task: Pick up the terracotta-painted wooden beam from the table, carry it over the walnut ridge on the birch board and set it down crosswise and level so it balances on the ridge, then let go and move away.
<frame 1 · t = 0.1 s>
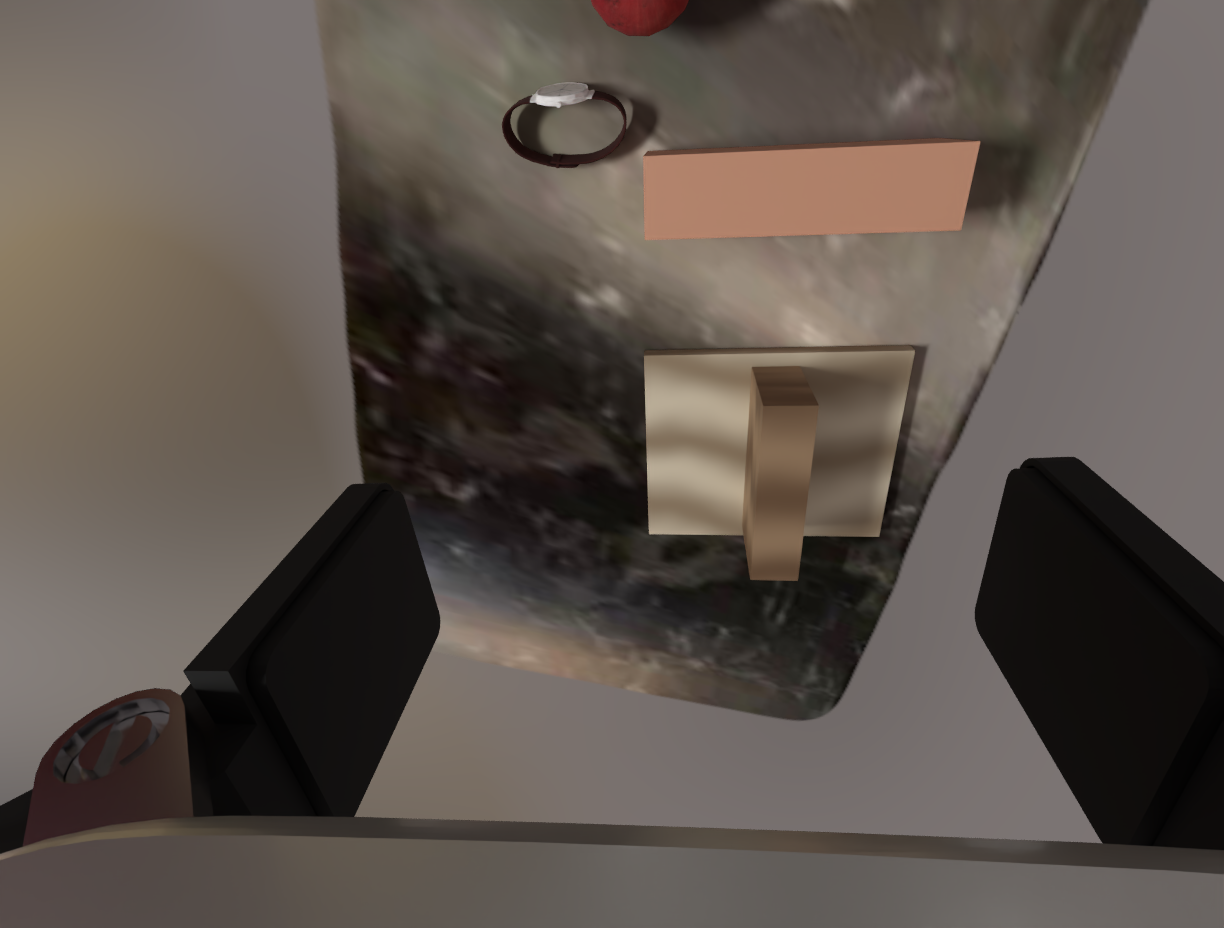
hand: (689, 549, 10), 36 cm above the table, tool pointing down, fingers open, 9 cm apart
beam: (786, 183, 40), on the table
stand: (766, 444, 49), on the table
watch: (569, 125, 40), on the table
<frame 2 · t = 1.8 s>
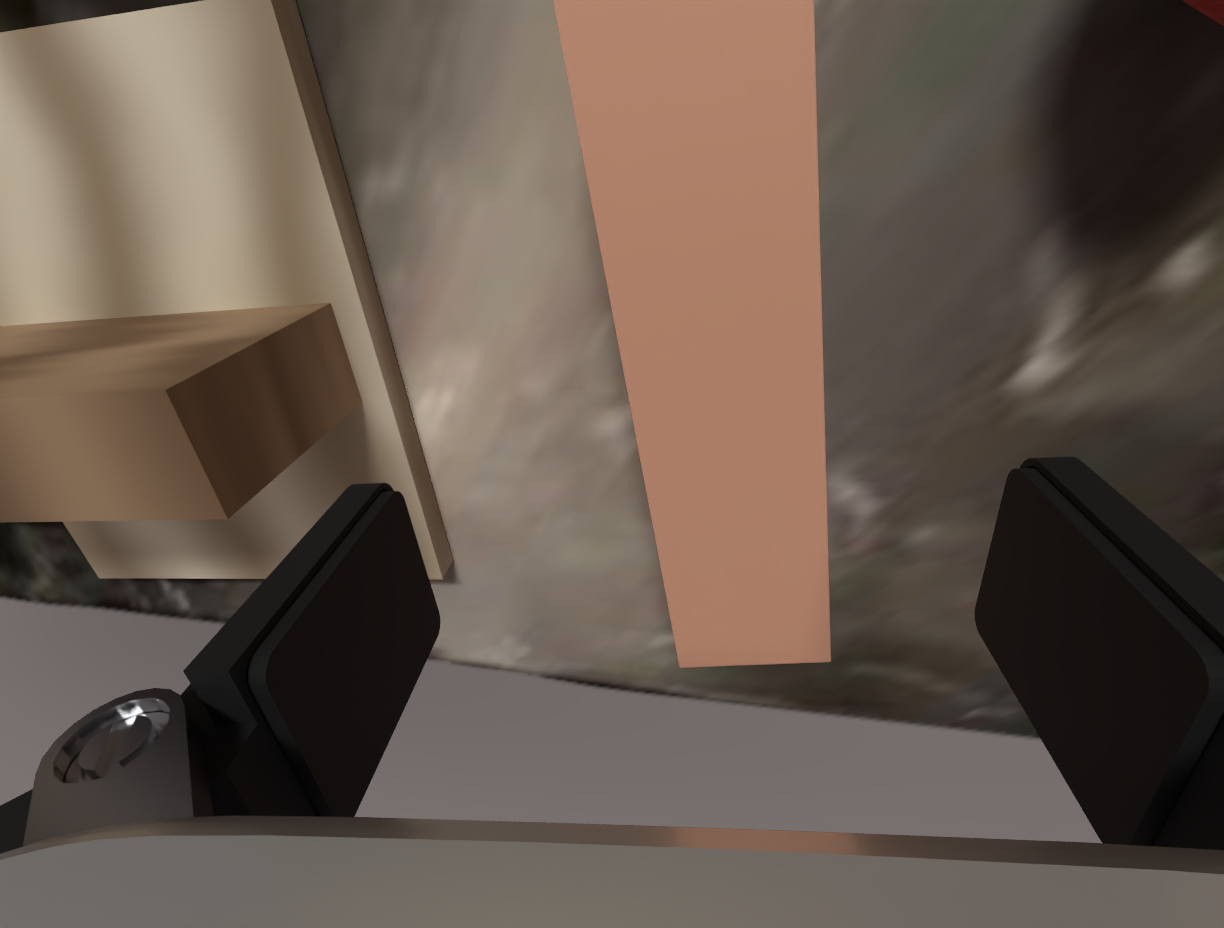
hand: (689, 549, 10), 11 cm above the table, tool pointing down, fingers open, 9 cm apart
beam: (717, 318, 20), on the table
stand: (185, 353, 22), on the table
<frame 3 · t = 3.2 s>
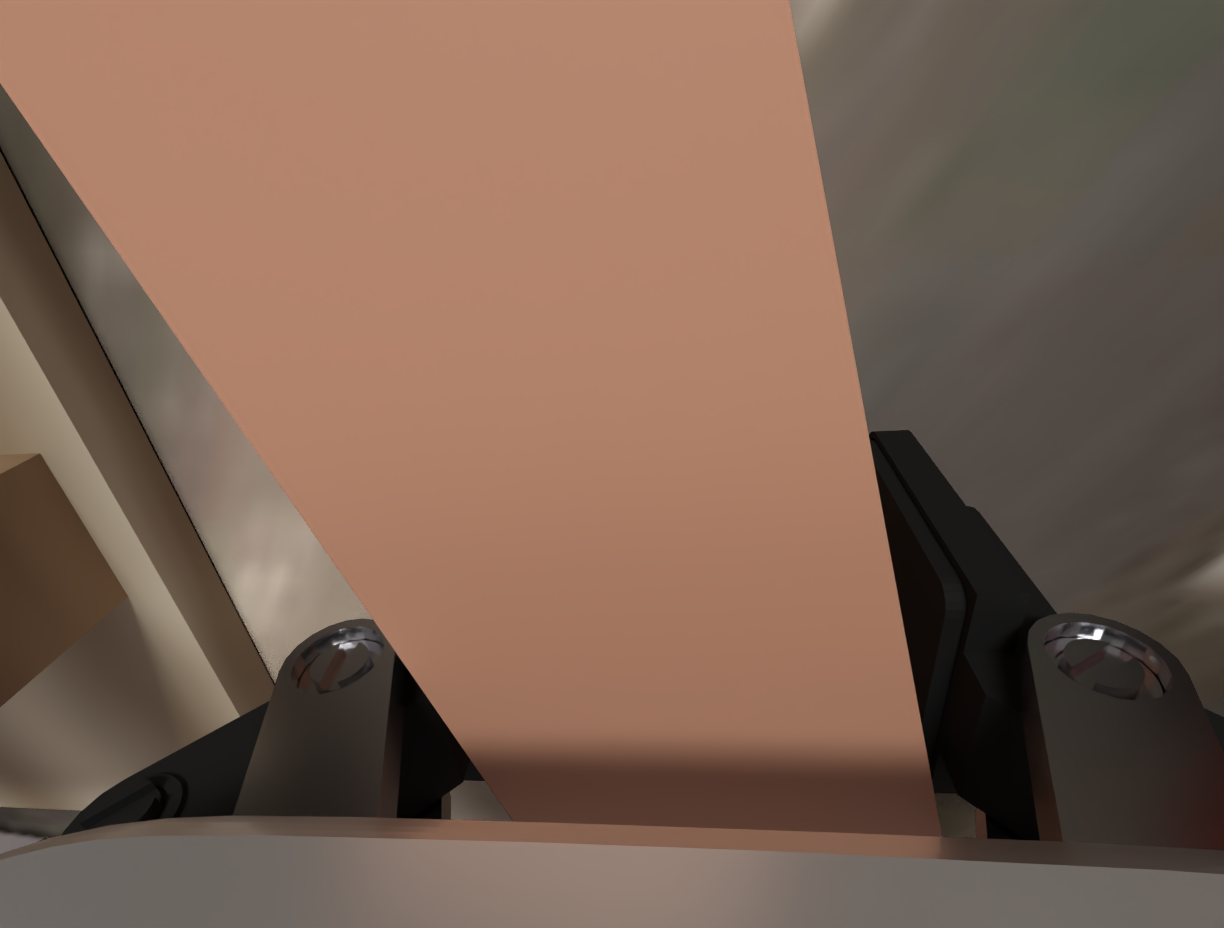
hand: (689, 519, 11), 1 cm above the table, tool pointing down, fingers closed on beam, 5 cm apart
beam: (687, 481, 12), on the table, touching gripper
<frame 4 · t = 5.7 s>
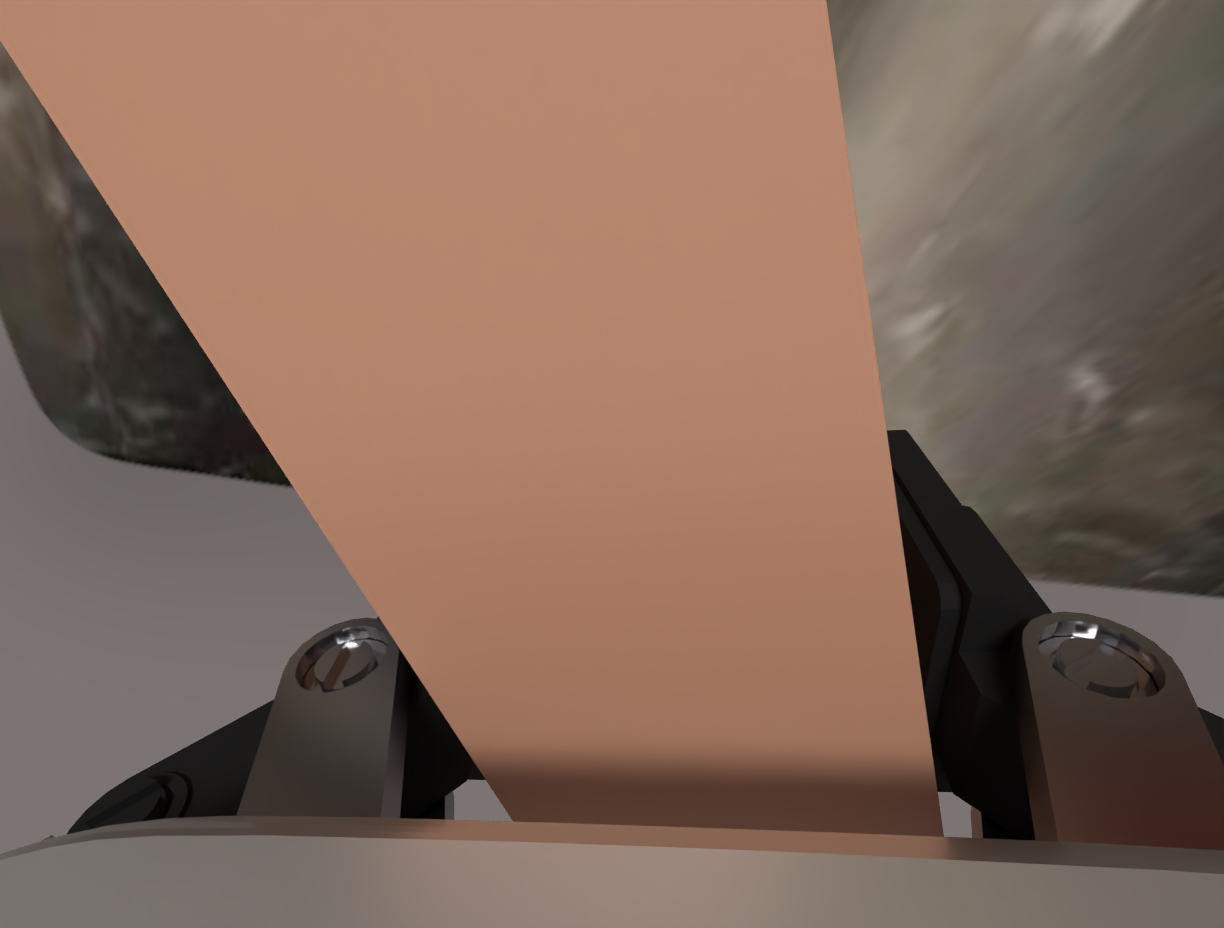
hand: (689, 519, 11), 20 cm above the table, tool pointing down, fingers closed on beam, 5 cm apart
beam: (689, 483, 12), point 19 cm above the table, touching gripper
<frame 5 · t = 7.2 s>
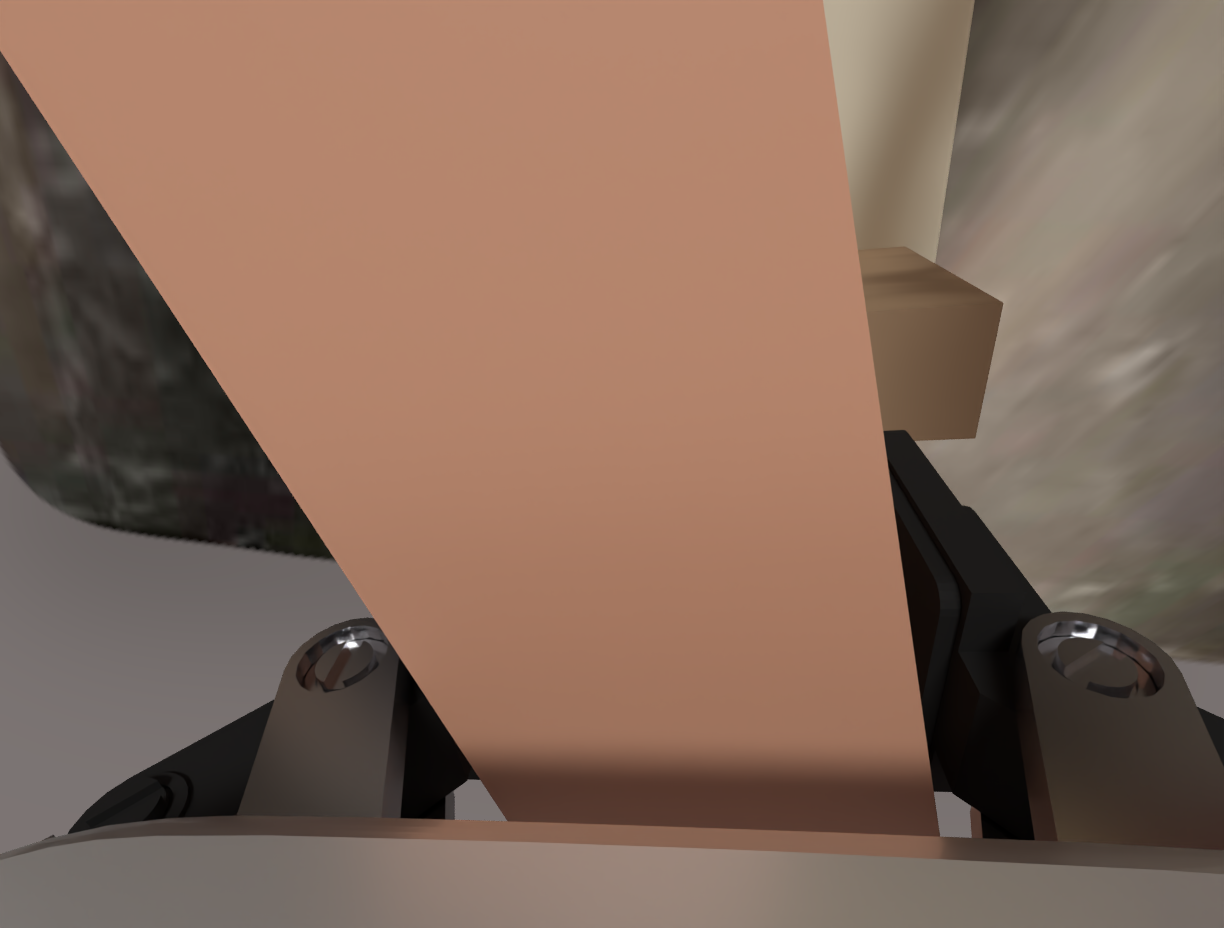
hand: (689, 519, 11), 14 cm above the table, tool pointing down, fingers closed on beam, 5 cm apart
beam: (687, 483, 12), point 13 cm above the table, touching gripper
stand: (688, 304, 23), on the table
when the fingers open (10 cm above the table, at t = 8.3 s): beam stays where it is, resting on stand.
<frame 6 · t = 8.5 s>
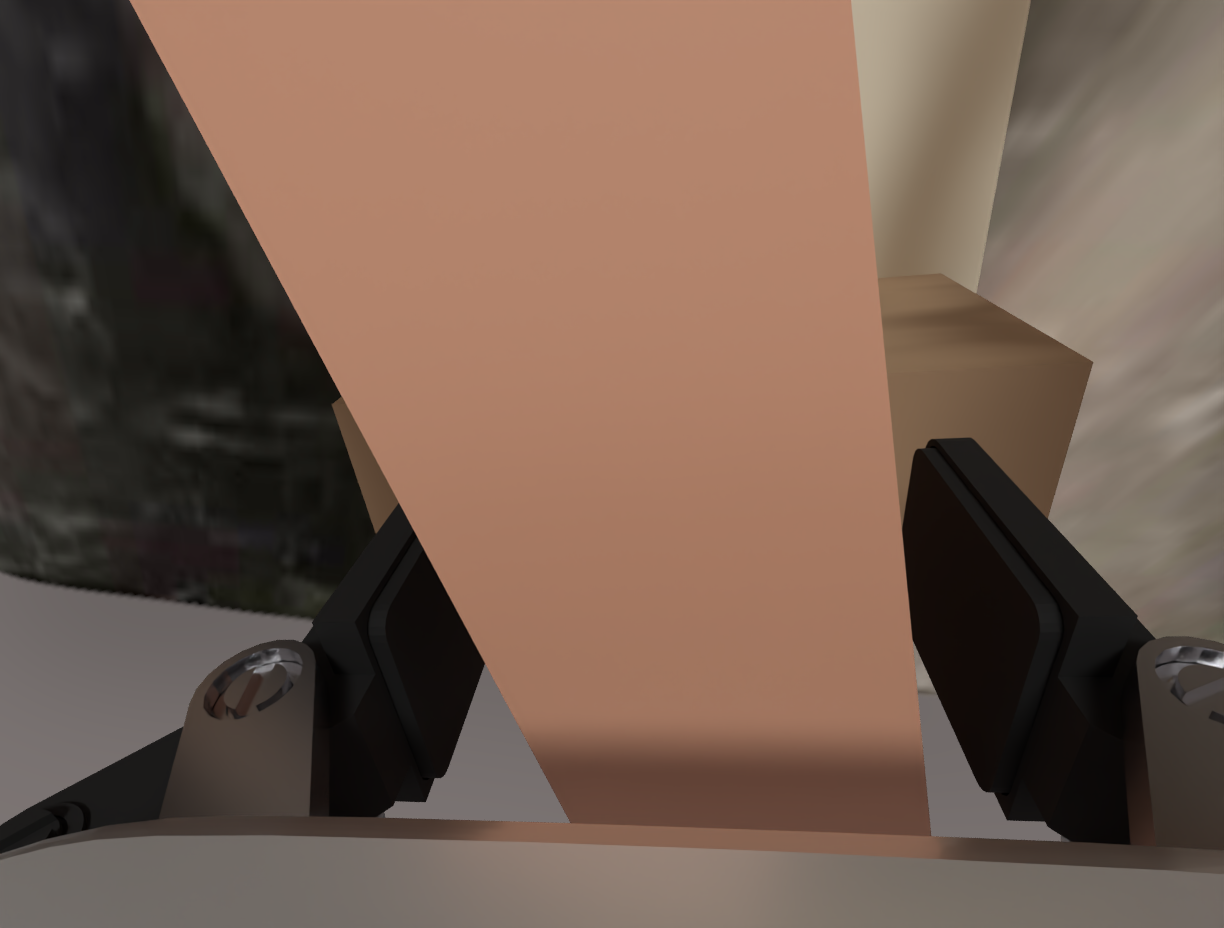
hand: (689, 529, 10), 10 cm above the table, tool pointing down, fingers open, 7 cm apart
beam: (694, 461, 12), point 8 cm above the table, touching stand
stand: (683, 337, 19), on the table
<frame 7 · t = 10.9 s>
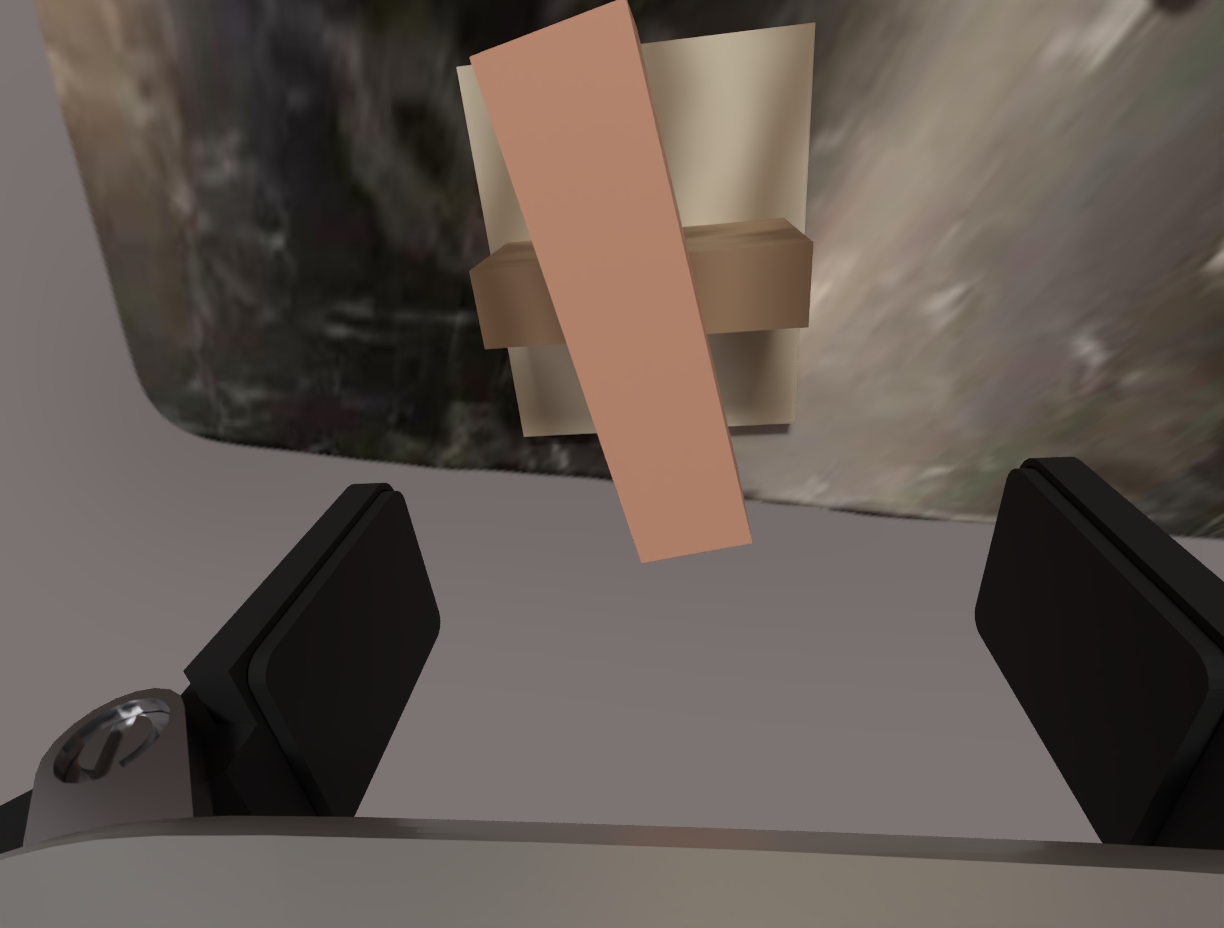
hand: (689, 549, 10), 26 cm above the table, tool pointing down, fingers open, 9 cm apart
beam: (642, 297, 26), point 8 cm above the table, touching stand
stand: (645, 260, 33), on the table
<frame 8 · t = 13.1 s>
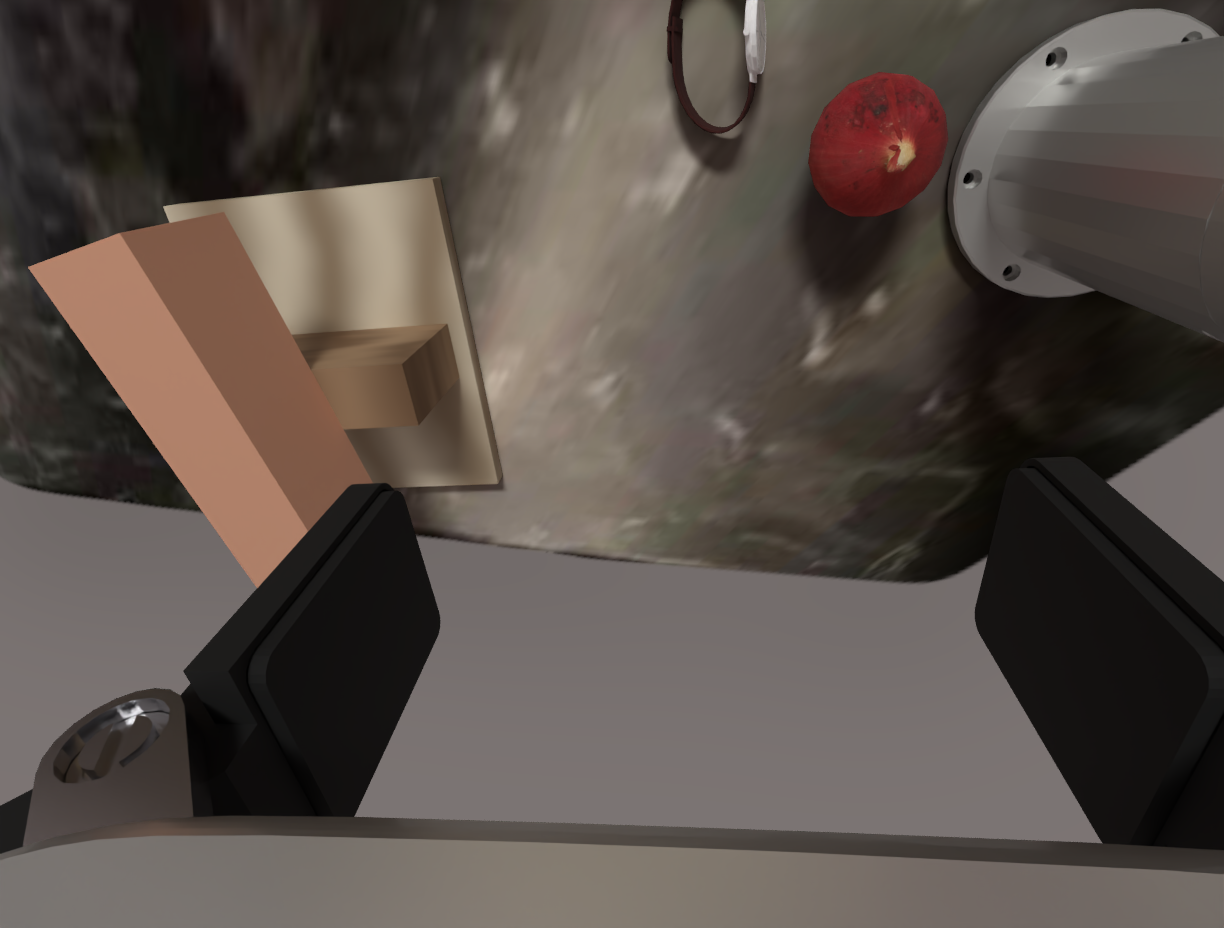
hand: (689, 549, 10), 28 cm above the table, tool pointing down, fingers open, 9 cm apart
beam: (286, 401, 32), point 8 cm above the table, touching stand
stand: (354, 351, 40), on the table
watch: (715, 43, 30), on the table
onion: (854, 144, 32), on the table
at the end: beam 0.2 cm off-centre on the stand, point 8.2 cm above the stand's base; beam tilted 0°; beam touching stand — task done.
